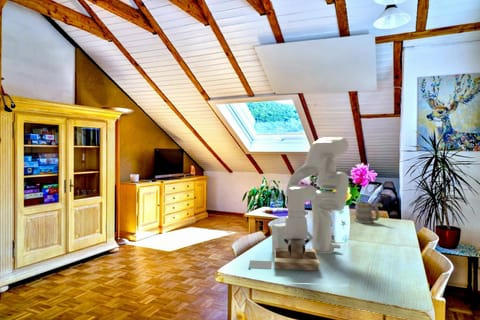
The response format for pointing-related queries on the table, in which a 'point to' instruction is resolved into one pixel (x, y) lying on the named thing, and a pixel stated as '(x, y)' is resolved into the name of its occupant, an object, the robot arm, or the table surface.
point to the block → (297, 249)
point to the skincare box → (278, 236)
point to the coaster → (260, 264)
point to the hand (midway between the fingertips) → (296, 252)
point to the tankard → (366, 212)
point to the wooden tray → (295, 260)
